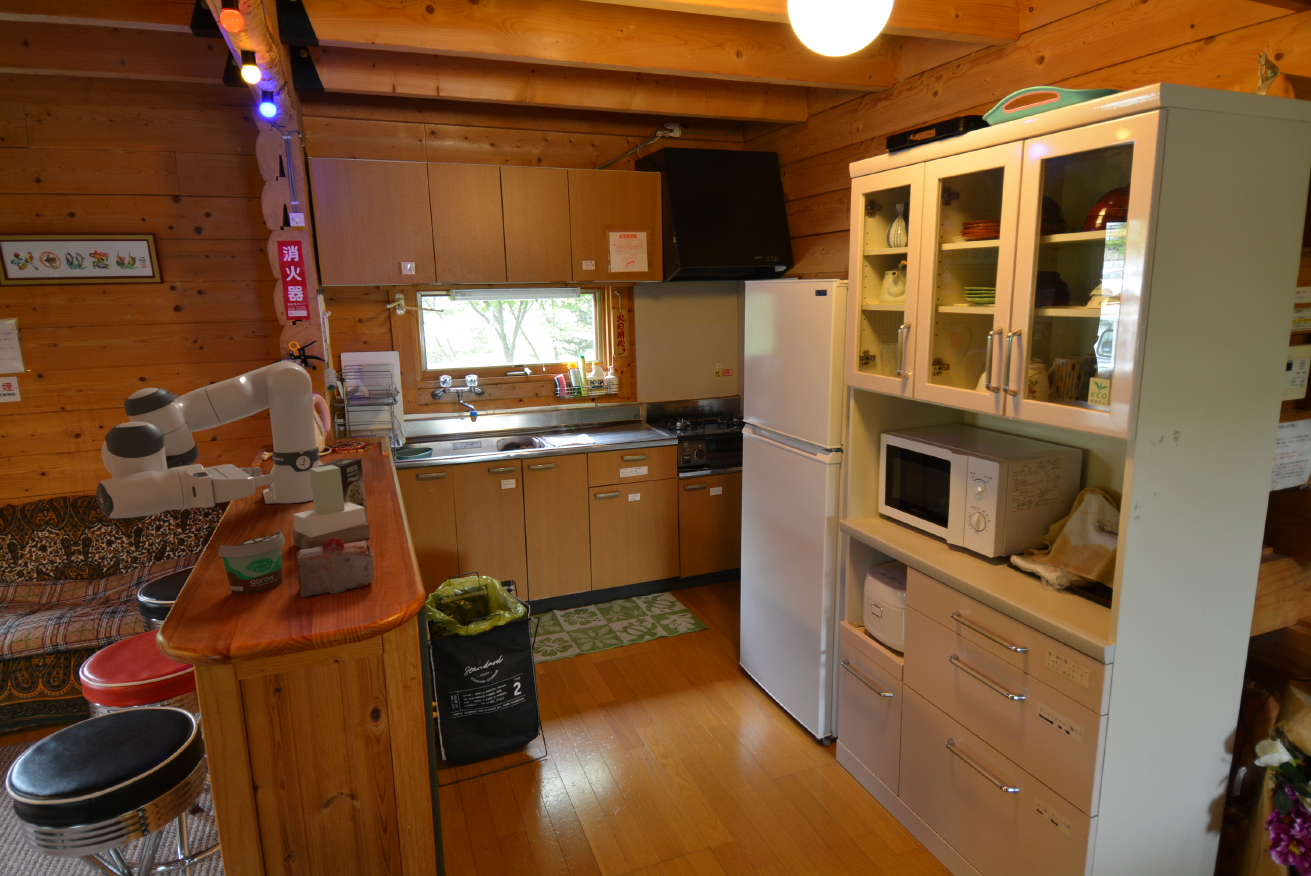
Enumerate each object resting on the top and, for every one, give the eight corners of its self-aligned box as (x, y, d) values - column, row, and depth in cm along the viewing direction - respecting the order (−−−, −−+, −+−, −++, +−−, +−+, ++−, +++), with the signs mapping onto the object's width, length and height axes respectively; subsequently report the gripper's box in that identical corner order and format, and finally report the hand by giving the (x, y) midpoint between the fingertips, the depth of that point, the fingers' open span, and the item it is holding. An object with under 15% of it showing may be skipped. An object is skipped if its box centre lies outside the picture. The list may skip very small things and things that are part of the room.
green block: (314, 510, 173) (309, 468, 171) (336, 506, 177) (331, 464, 175) (322, 514, 170) (317, 471, 168) (344, 509, 173) (339, 467, 171)
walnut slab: (294, 546, 173) (292, 530, 172) (354, 532, 183) (352, 517, 182) (309, 555, 167) (307, 538, 166) (370, 540, 176) (368, 524, 176)
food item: (372, 575, 152) (367, 528, 150) (377, 587, 145) (372, 539, 143) (298, 588, 146) (292, 540, 144) (300, 602, 139) (294, 551, 137)
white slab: (295, 530, 172) (293, 514, 171) (349, 517, 181) (348, 501, 180) (310, 537, 166) (308, 520, 166) (365, 523, 176) (364, 507, 175)
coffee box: (347, 530, 183) (340, 465, 180) (323, 529, 184) (316, 465, 181) (368, 519, 191) (362, 458, 189) (346, 518, 193) (339, 457, 190)
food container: (241, 601, 139) (234, 550, 138) (223, 595, 143) (216, 545, 141) (302, 580, 150) (297, 532, 148) (284, 575, 153) (278, 528, 151)
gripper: (187, 491, 164) (256, 480, 172) (207, 509, 148) (282, 496, 157) (183, 463, 162) (253, 453, 171) (202, 479, 147) (278, 467, 156)
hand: (267, 474), depth 164 cm, fingers open, 8 cm apart
